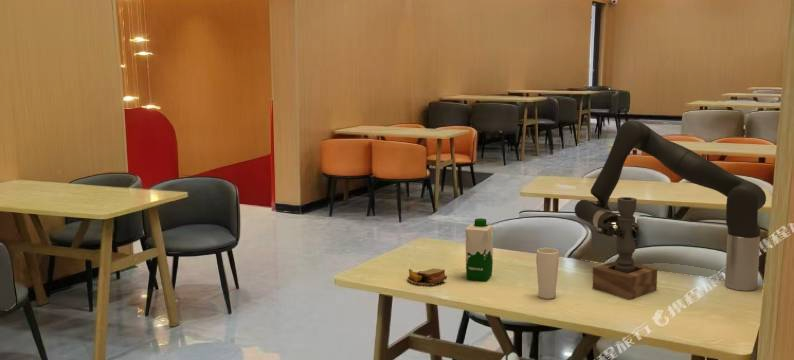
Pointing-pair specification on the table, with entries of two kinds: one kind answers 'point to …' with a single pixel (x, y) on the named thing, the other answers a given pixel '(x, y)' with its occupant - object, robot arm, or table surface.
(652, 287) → the bore block
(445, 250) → the table surface
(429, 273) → the toy sandwich meal
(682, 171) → the robot arm
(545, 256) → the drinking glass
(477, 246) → the milk carton
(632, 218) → the candle holder
